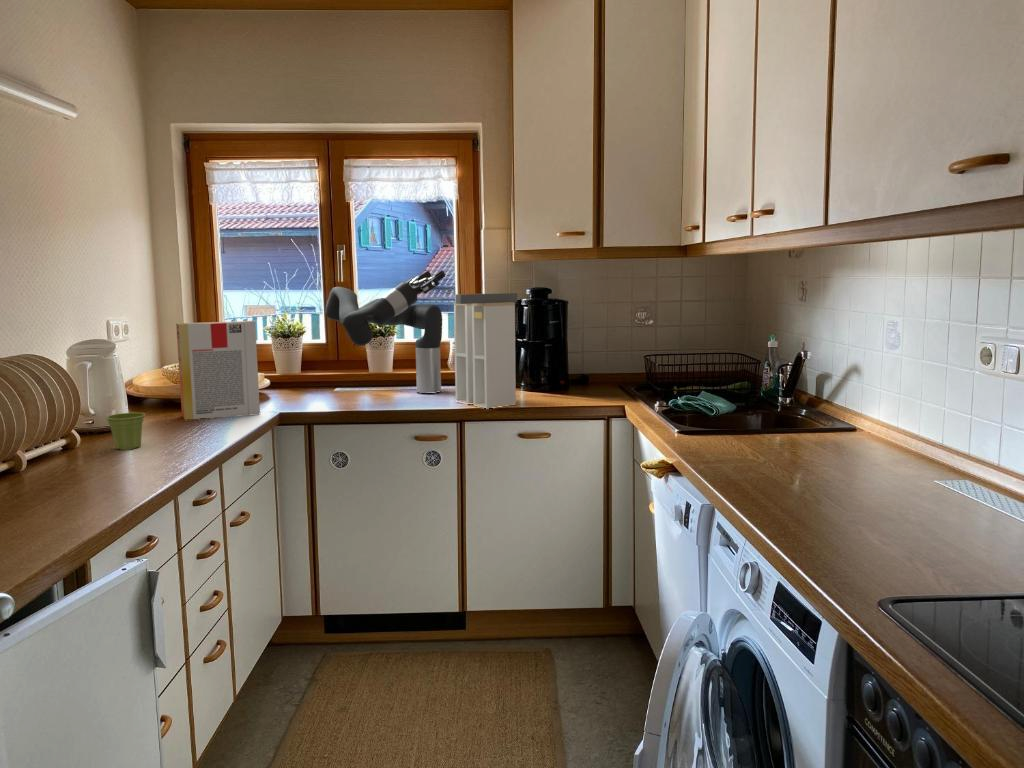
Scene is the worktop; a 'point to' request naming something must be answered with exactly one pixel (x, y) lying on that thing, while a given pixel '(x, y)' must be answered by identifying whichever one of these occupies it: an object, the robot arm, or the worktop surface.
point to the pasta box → (218, 369)
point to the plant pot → (126, 429)
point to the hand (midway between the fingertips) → (436, 273)
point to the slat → (485, 298)
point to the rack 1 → (463, 352)
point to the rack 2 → (493, 354)
